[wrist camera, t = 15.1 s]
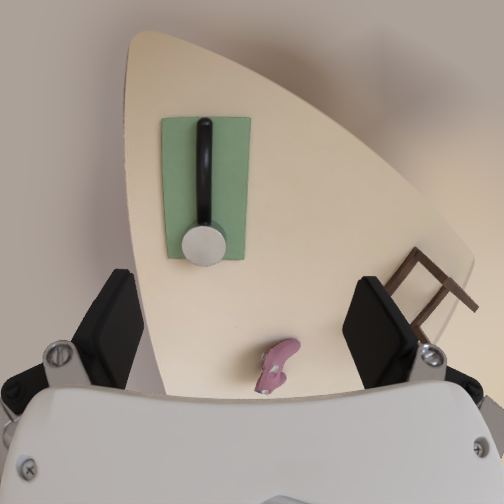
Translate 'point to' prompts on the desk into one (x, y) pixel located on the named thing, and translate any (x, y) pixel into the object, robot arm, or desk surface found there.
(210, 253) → the grey saucepan
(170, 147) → the mat
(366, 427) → the robot arm
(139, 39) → the desk surface
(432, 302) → the rack
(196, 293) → the desk surface
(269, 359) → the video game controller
